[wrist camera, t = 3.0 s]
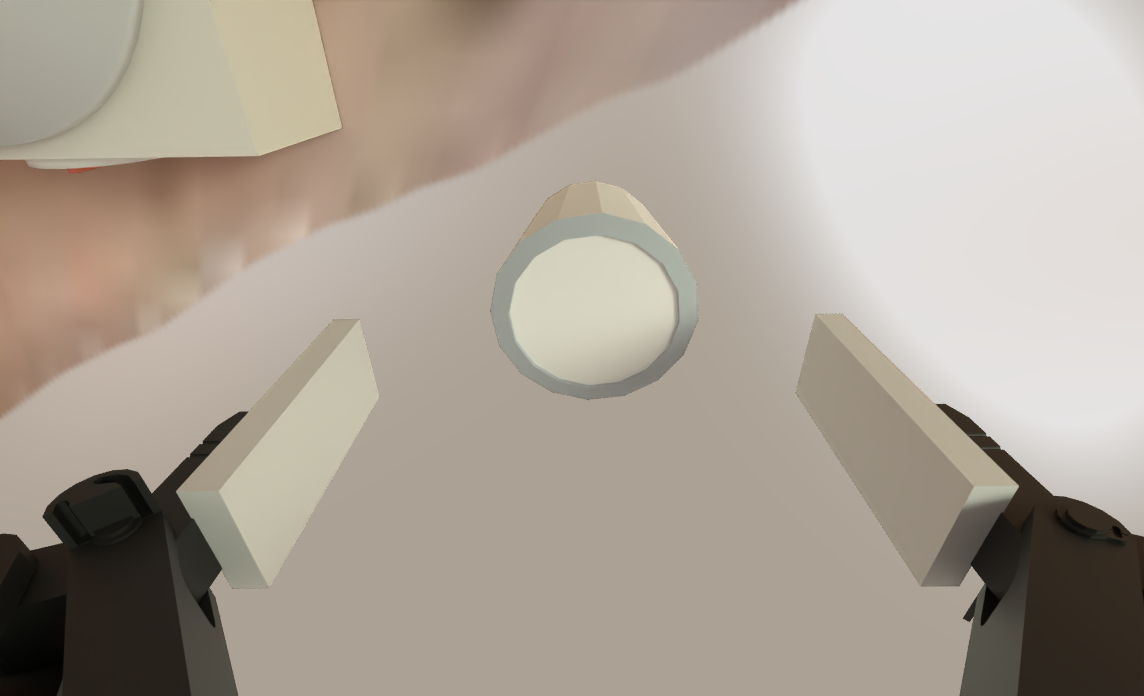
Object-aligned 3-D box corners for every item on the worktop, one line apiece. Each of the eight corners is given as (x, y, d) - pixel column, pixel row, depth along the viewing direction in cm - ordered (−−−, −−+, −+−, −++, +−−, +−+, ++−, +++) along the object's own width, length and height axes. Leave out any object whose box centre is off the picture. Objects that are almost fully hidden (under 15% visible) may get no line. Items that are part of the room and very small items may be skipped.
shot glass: (492, 278, 23) (461, 359, 17) (552, 135, 20) (539, 173, 14) (623, 334, 25) (635, 426, 19) (698, 209, 22) (743, 272, 16)
